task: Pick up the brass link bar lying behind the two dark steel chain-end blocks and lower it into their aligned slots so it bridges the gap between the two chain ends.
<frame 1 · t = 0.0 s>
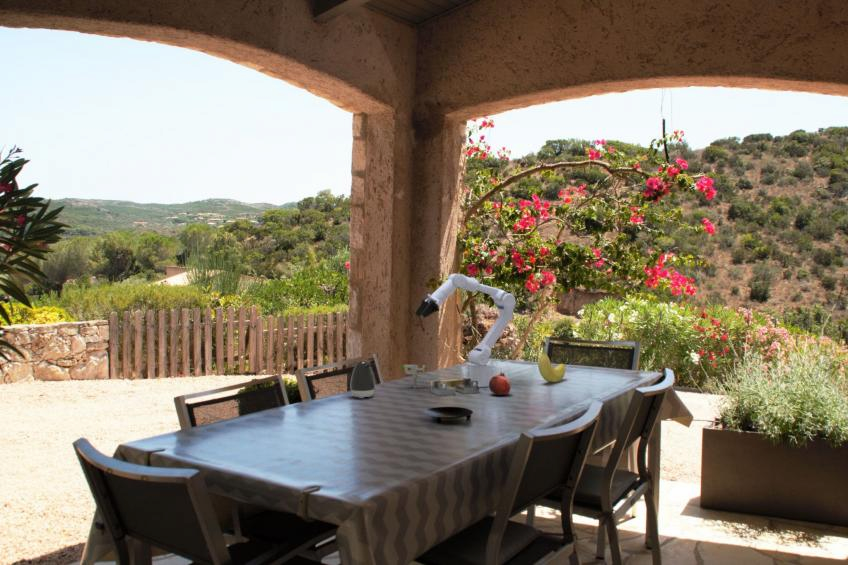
hand: (419, 315, 307), 32 cm above the table, tool tilted 50°, fingers open, 7 cm apart
fruit: (499, 395, 296), on the table
mechanical component: (414, 388, 313), on the table
master link: (446, 389, 310), on the table
dark grey speaker: (362, 397, 292), on the table
chain end a: (467, 391, 304), on the table
chain end b: (443, 393, 300), on the table
banana: (552, 382, 325), on the table
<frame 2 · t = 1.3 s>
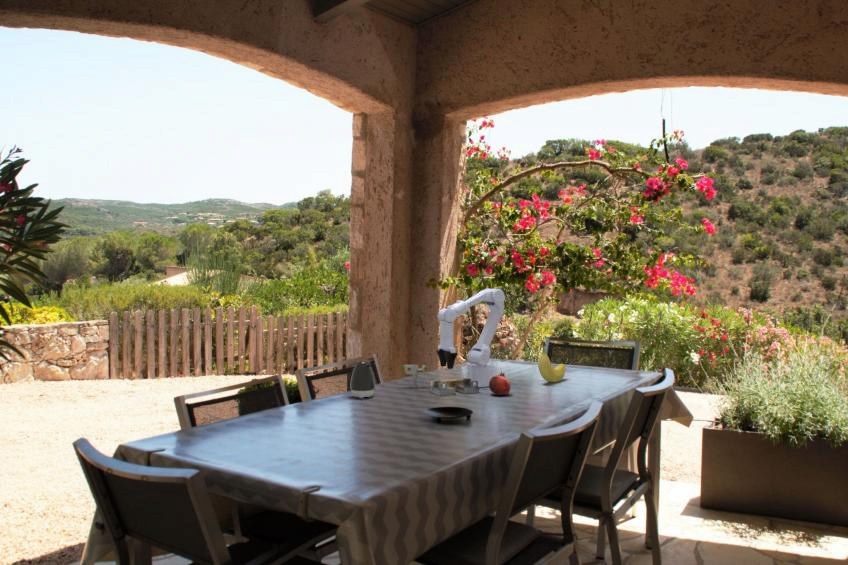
hand: (446, 367, 310), 9 cm above the table, tool pointing down, fingers open, 7 cm apart
nothing on the table moved.
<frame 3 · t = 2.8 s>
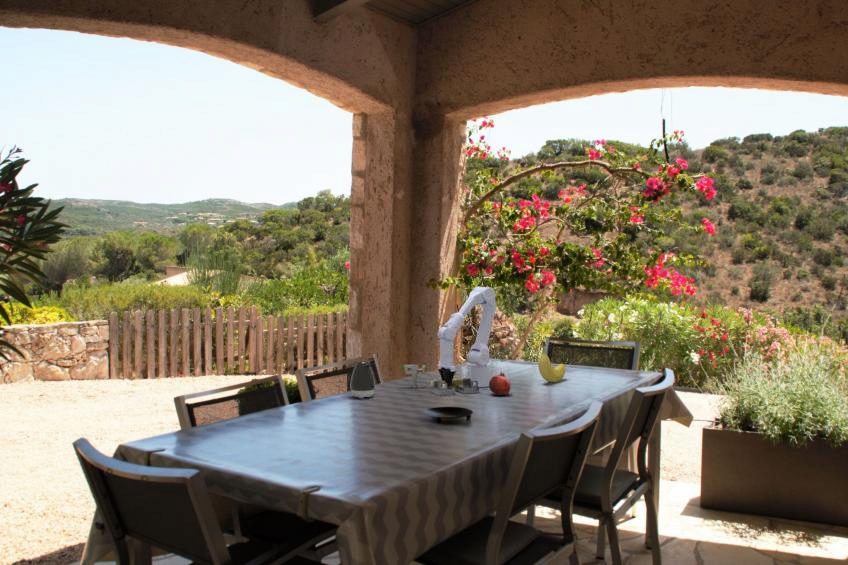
hand: (446, 385, 310), 1 cm above the table, tool pointing down, fingers closed on master link, 3 cm apart
master link: (447, 389, 310), on the table, touching gripper
everything else where it was.
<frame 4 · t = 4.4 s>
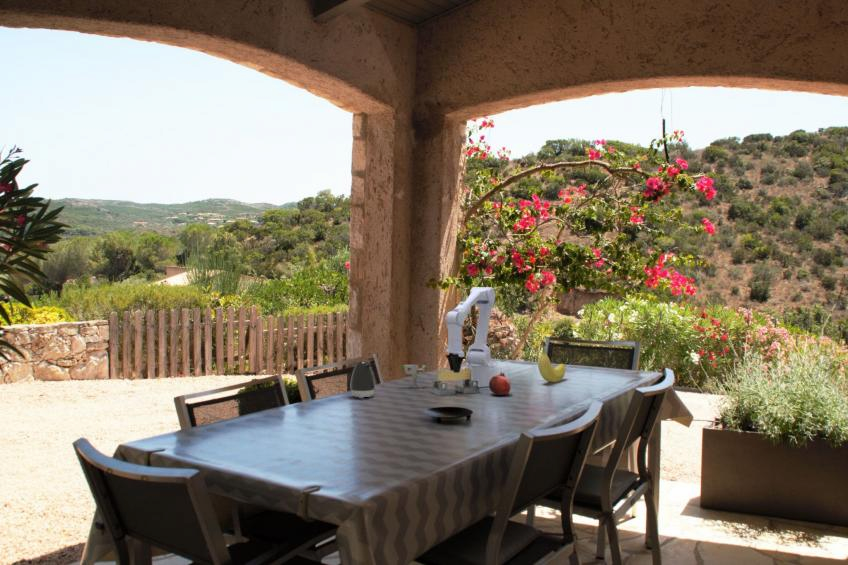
hand: (455, 371, 301), 9 cm above the table, tool pointing down, fingers closed on master link, 3 cm apart
master link: (454, 379, 301), point 6 cm above the table, touching gripper
everything else where it was.
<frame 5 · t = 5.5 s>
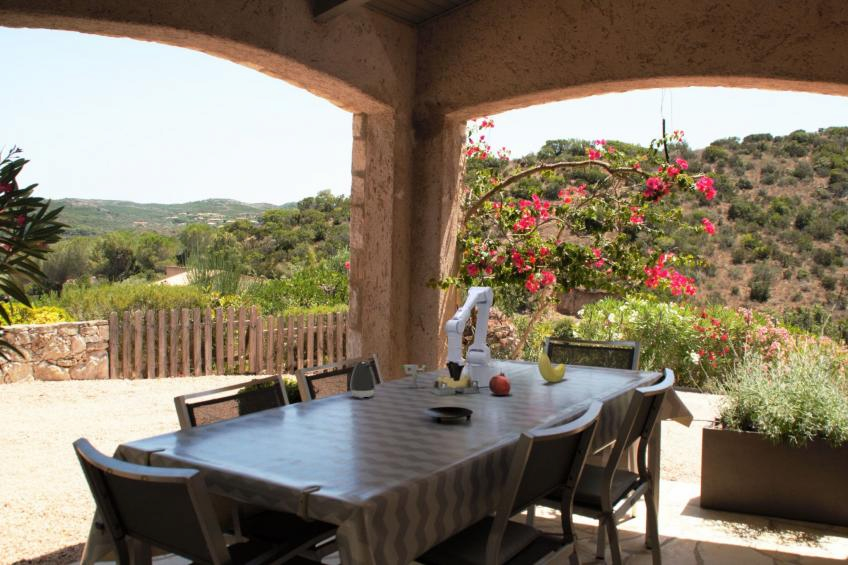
hand: (455, 380, 301), 5 cm above the table, tool pointing down, fingers closed on master link, 3 cm apart
master link: (454, 386, 301), point 2 cm above the table, touching chain end a, chain end b, gripper
everything else where it was.
when the fingers open (5 cm above the table, at t = 5.7 s): master link stays where it is, resting on chain end a, chain end b.
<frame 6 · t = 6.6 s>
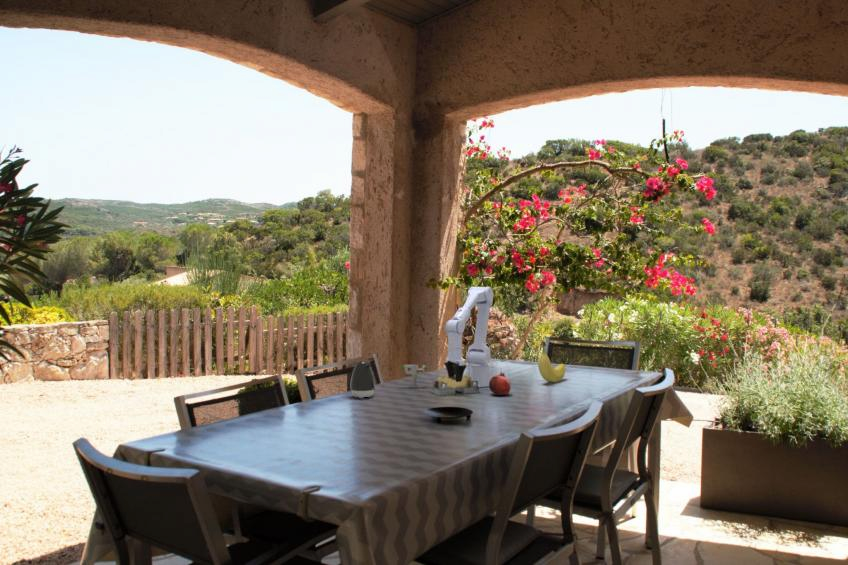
hand: (455, 380, 301), 5 cm above the table, tool pointing down, fingers open, 7 cm apart
master link: (454, 386, 301), point 2 cm above the table, touching chain end a, chain end b
everything else where it was.
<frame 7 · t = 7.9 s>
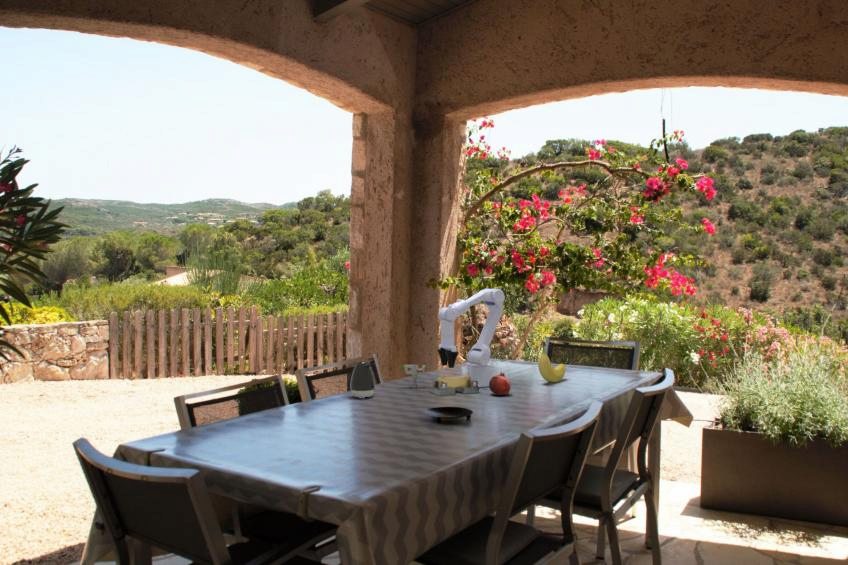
hand: (447, 366, 309), 10 cm above the table, tool pointing down, fingers open, 7 cm apart
nothing on the table moved.
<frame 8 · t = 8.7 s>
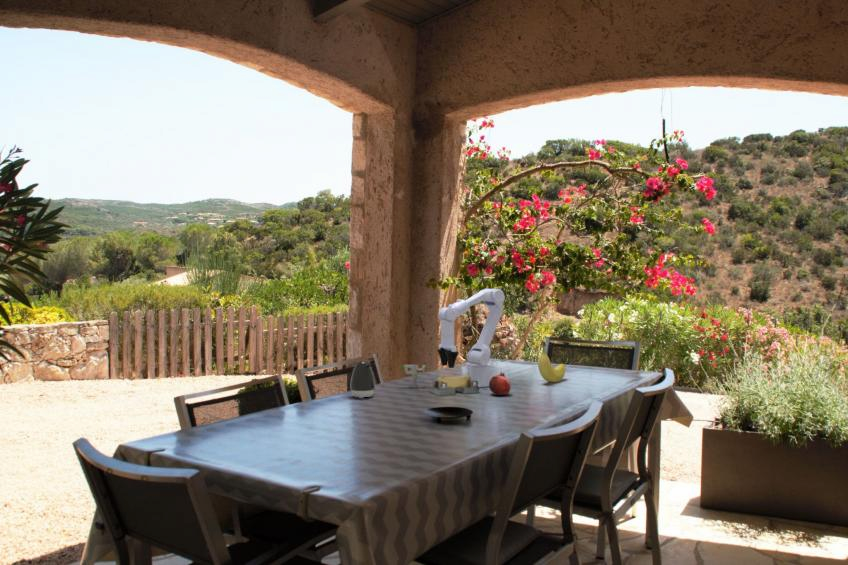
hand: (447, 366, 309), 10 cm above the table, tool pointing down, fingers open, 7 cm apart
nothing on the table moved.
at the end: master link 0.2 cm from the target spot, point 2.5 cm above the table; master link tilted 0°; the gripper is holding nothing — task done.
